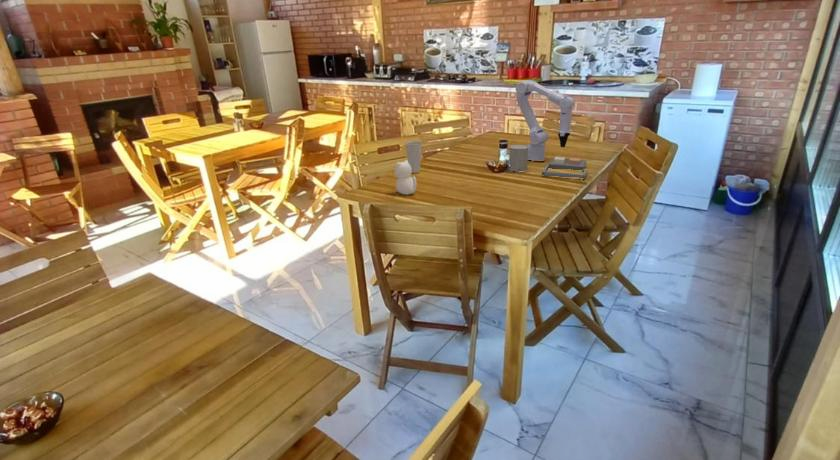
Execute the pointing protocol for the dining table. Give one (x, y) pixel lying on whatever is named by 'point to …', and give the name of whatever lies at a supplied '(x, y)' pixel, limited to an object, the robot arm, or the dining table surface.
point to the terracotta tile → (574, 161)
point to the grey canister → (518, 157)
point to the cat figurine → (405, 178)
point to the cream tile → (559, 160)
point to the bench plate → (567, 165)
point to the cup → (414, 155)
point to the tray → (562, 173)
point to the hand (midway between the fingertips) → (562, 146)
